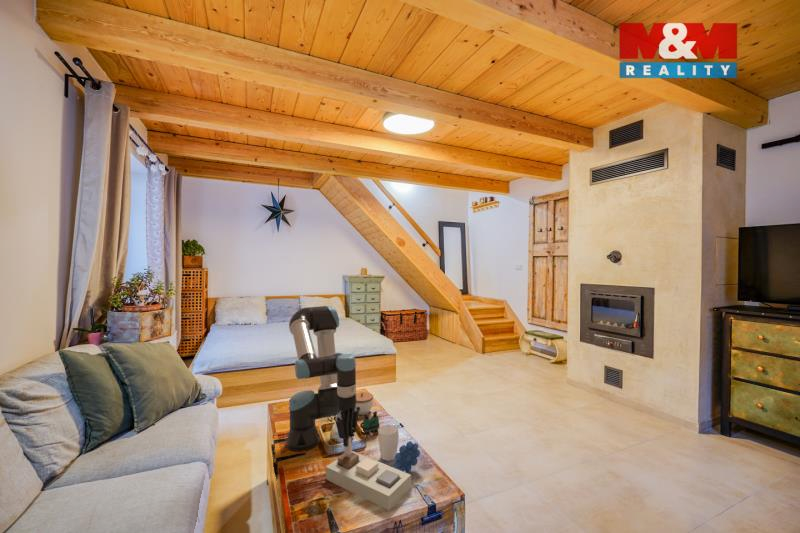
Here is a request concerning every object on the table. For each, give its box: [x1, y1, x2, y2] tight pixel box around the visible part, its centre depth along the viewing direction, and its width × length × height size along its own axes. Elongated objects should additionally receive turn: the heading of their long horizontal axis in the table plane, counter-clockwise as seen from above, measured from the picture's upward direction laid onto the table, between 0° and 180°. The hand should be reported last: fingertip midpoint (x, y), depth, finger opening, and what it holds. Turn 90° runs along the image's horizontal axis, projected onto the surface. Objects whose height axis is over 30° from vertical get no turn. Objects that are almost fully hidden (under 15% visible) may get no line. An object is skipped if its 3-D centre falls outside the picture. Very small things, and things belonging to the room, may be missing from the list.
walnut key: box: [337, 451, 359, 470], centre depth 138 cm, size 6×6×4 cm
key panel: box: [325, 450, 412, 511], centre depth 133 cm, size 31×14×5 cm, turn 55°
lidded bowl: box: [355, 391, 374, 416], centre depth 195 cm, size 13×13×11 cm
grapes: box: [393, 441, 421, 473], centre depth 140 cm, size 12×7×12 cm, turn 115°
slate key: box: [377, 470, 400, 488], centre depth 127 cm, size 6×6×4 cm
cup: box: [377, 424, 400, 462], centre depth 150 cm, size 9×9×12 cm
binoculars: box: [359, 411, 381, 438], centre depth 172 cm, size 9×11×10 cm
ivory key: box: [356, 458, 378, 479], centre depth 133 cm, size 6×6×4 cm
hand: (348, 452), depth 138 cm, fingers closed
